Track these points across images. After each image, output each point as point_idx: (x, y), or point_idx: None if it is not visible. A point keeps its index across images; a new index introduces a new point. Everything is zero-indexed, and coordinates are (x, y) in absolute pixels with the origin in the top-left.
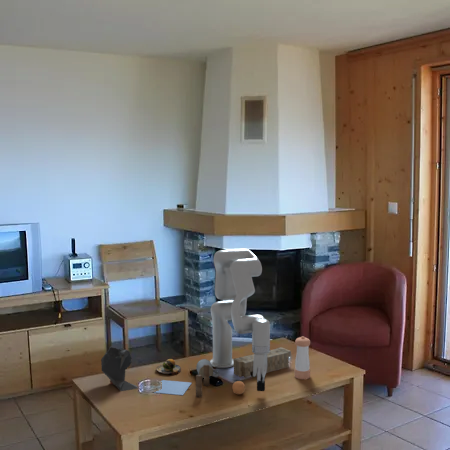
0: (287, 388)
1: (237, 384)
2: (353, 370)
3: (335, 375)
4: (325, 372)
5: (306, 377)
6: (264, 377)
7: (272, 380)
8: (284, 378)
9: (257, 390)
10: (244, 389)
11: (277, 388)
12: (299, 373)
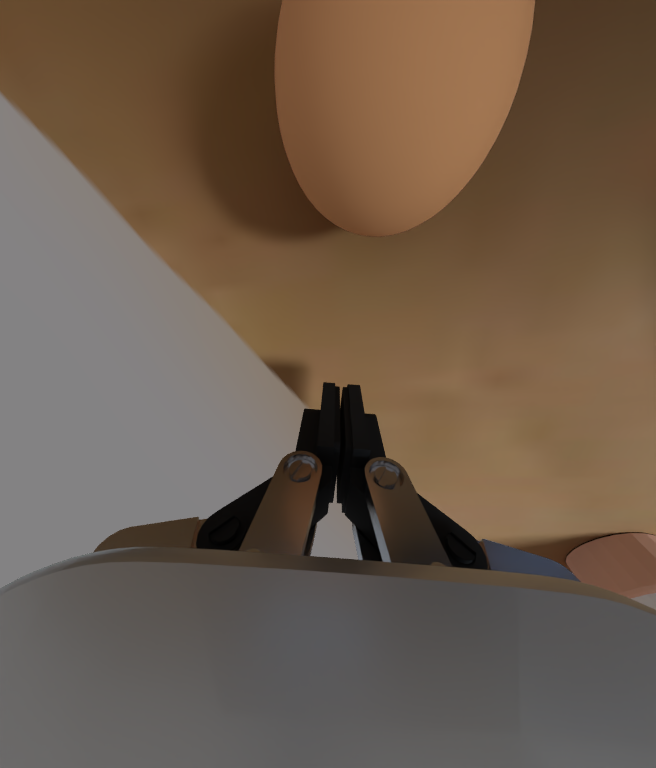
0: (460, 504)
1: (303, 15)
2: None
3: None
4: None
5: (572, 571)
6: (369, 555)
7: (630, 442)
8: (628, 497)
9: (323, 385)
10: (348, 231)
11: (469, 467)
12: (610, 582)
